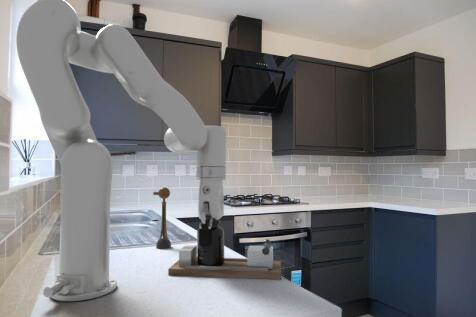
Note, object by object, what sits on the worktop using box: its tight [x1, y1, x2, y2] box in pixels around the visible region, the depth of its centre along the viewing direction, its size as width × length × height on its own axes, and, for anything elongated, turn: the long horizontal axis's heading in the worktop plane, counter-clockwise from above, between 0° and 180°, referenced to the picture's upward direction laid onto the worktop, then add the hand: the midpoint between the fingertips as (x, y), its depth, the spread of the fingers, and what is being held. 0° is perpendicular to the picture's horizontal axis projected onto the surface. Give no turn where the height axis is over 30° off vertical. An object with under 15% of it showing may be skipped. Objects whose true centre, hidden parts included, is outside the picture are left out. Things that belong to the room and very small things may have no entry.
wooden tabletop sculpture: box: [152, 186, 172, 250], centre depth 107 cm, size 6×5×20 cm
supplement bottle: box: [196, 218, 225, 266], centre depth 81 cm, size 7×7×12 cm
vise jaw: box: [246, 239, 274, 269], centre depth 80 cm, size 11×6×5 cm, turn 173°
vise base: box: [167, 244, 282, 280], centre depth 81 cm, size 10×27×6 cm, turn 83°
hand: (210, 241), depth 81 cm, fingers open, 9 cm apart
